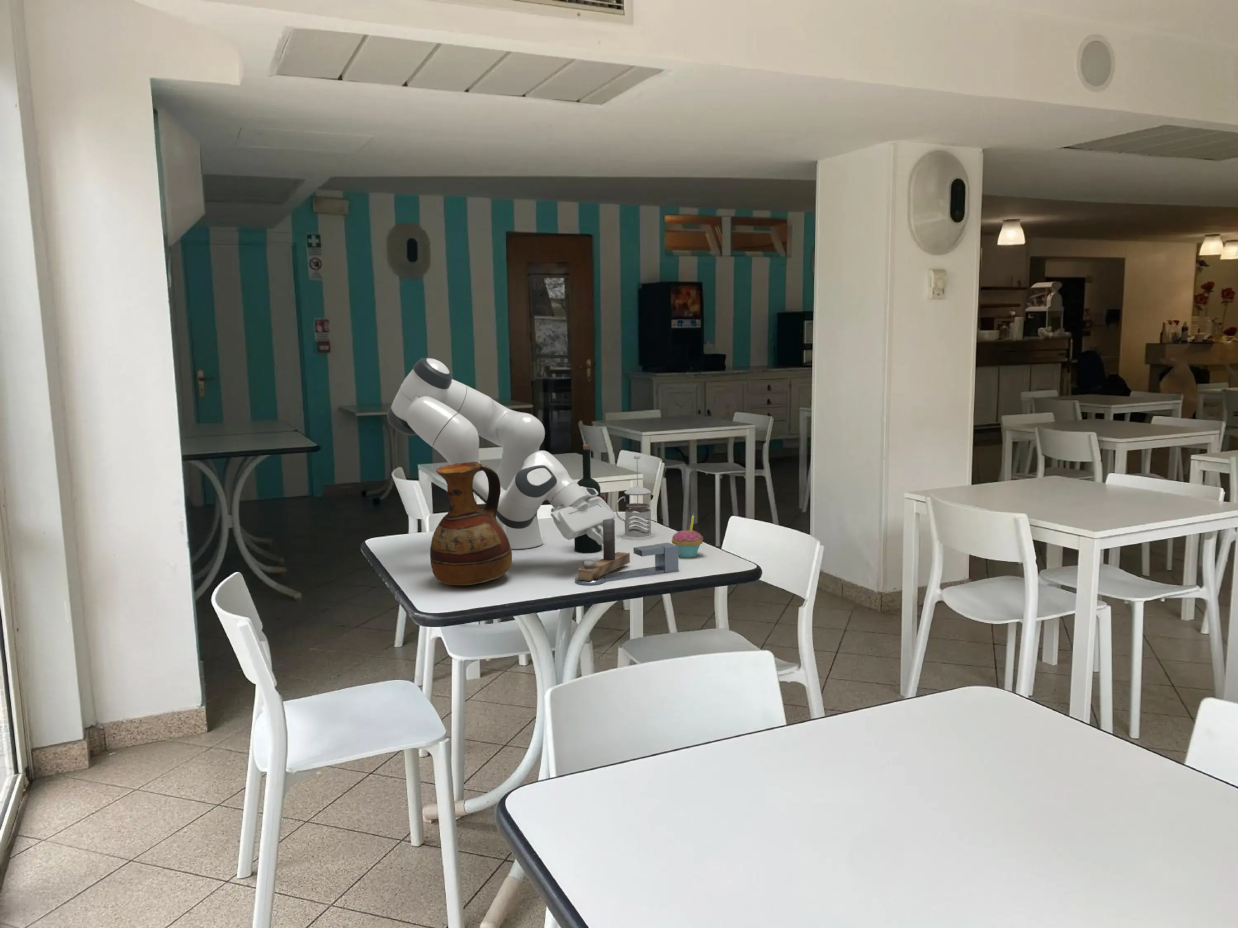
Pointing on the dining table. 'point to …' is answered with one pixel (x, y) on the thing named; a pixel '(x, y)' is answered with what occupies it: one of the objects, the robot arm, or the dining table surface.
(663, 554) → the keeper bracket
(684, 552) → the cupcake
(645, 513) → the french press
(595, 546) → the wine bottle
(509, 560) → the ceramic pitcher
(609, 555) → the walnut link
